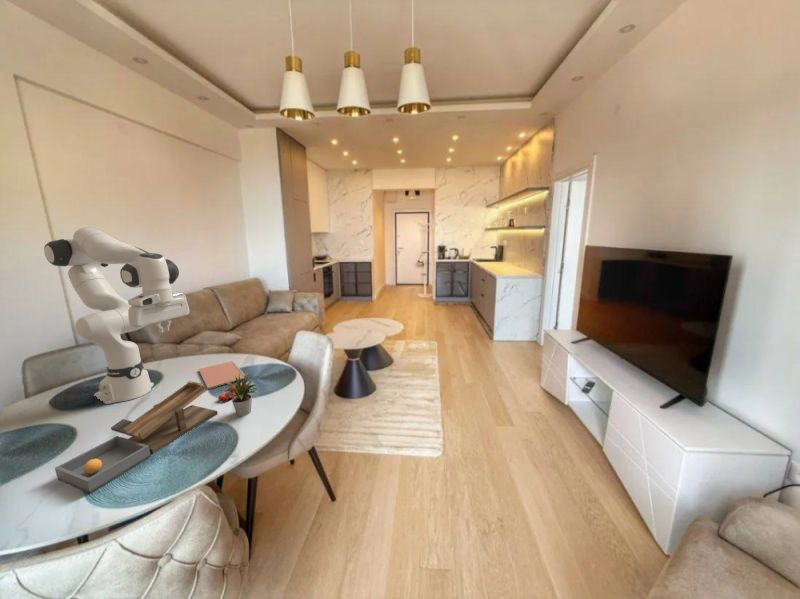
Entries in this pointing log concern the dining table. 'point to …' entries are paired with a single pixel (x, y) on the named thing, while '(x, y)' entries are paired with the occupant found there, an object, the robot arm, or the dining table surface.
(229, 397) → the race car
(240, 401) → the house plant
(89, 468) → the ball
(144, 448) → the tray
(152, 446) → the lever stand
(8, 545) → the dining table surface
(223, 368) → the notebook
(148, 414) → the lever
